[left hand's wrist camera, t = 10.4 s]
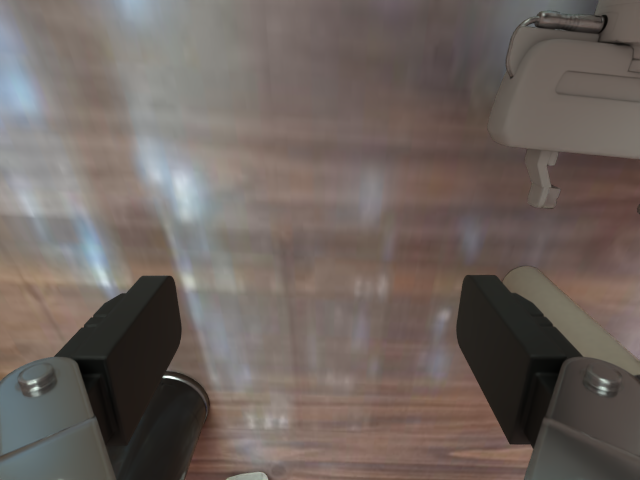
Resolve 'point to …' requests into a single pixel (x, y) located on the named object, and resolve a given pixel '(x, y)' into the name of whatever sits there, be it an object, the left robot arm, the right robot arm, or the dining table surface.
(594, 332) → the bottle
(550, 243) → the dining table surface
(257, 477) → the pistol
